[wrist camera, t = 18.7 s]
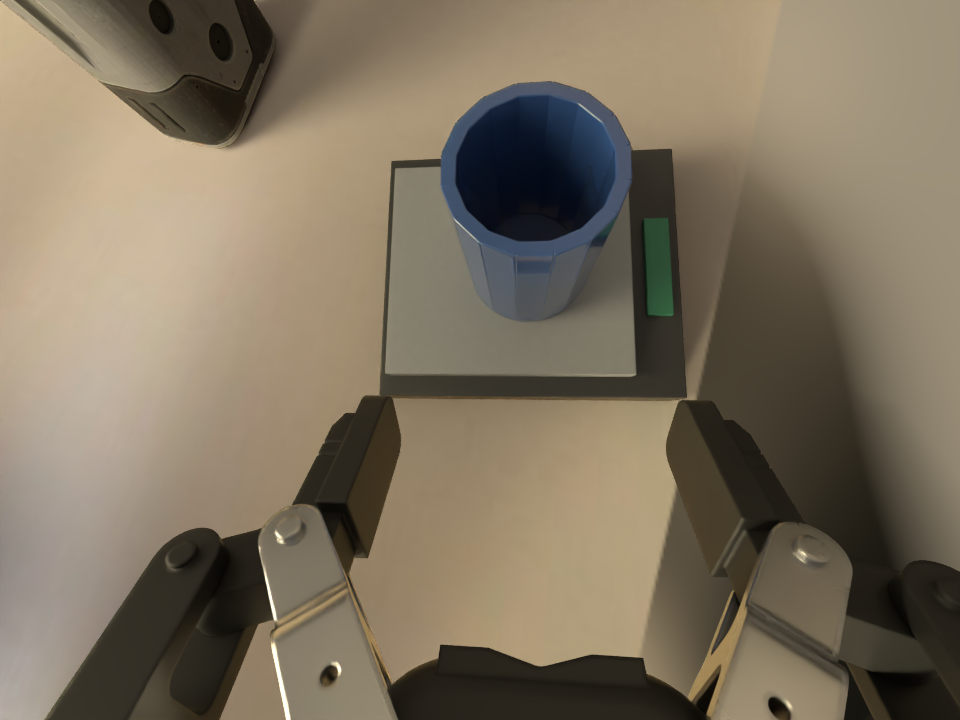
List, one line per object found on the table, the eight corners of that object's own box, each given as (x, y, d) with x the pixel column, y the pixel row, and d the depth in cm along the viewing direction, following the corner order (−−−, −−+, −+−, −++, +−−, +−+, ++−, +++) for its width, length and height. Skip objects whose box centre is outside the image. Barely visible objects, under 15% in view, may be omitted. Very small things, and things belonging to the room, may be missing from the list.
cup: (586, 208, 21) (628, 75, 13) (589, 321, 20) (636, 254, 12) (471, 212, 21) (442, 86, 13) (468, 322, 20) (437, 258, 12)
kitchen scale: (658, 173, 24) (678, 137, 21) (670, 400, 22) (694, 397, 19) (402, 183, 25) (386, 151, 22) (391, 398, 23) (373, 394, 20)
